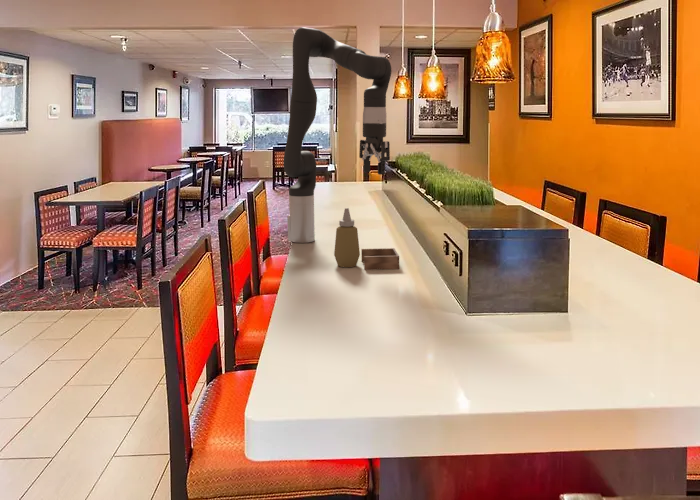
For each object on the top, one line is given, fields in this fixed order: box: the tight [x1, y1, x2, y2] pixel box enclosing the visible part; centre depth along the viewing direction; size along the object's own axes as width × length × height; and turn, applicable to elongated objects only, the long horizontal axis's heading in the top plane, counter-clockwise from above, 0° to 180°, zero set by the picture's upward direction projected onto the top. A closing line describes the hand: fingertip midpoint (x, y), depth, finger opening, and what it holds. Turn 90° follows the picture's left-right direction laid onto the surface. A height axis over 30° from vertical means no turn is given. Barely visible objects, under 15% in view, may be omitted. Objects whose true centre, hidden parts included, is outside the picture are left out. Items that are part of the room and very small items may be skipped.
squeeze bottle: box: [333, 207, 361, 268], centre depth 184 cm, size 8×8×18 cm
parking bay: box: [361, 247, 400, 271], centre depth 186 cm, size 11×11×4 cm
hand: (373, 173), depth 192 cm, fingers open, 8 cm apart
